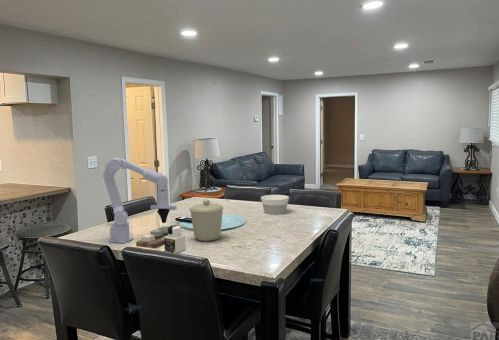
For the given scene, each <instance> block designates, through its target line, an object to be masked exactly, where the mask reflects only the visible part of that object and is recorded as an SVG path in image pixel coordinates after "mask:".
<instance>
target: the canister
mask: <svg viewBox="0 0 499 340" xmlns="http://www.w3.org/2000/svg"><path fill="white" fill-rule="evenodd" d="M224 209H225V207H224V206H222V205H221V204H219V203H212V202H210V200H209V199H207V198H206V199H203V201H202V203H198V204H194V205H192V206H190V208H189V209H188V210H189V212H190V217H191V223H192V230H193V235H194V238H195V239H196V240H197V241H201V242H212V241H217V240H218V239H219V238H220V236H221V234H222V226H223V225H222V224H223V223H222V222H223V210H224Z"/></svg>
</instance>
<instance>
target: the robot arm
mask: <svg viewBox="0 0 499 340" xmlns="http://www.w3.org/2000/svg"><path fill="white" fill-rule="evenodd" d="M120 169H121V170H125V169H127V170H128V169H129V171H133V172H135V173H138V174H140V175H141V176H142V178H143V179H145V180H147V181H148V182H151V183H153V184H156V185H157V189H156V194H157V195H156V196H157V197H156V198H157V204H152V205H150V210H157V213H158V216H159V217H160V220H161V223H162V224H166V223H167V220H168V216H169V213H170V211H176V210H177V205H173V204H172V205H171V204H170V203H169V200H170V198H169V189H168V187H169V186H168V184H169V179H168V178H167V176H166V175H165V174H162V173H161V172H157V171H155V170H154V169H153V168H152V167H151V168H143V167H141V166H139V165H138V164H135V163H133V162H131V161H130V160H127V159H124V158H121V157H118V156H114V157H112V158H110V159H109V160H108V162H107V163H106V165H105V168H104V170H103V171H104V172H103V174H102V177H103V180H104V183H105V187H106V190H107V192H108V196H109V198H110V203H111V205H112V209H113V214H114V218H113V222H114V223H112V224H111V225H110V227H109V238H110V239H109V241H108V242H110V243H119V244H125V243H128V242H131V241H132V240H134V238H133V237H130V224H129V221H128V217H129V214H128V212H127V211H126V210H125V207H124V205H123V203H122V200H121V196H120V193H119V189H118V186H117V183H116V180H115V177H114V176H115V175H116V173H117V172H118V171H119V170H120Z"/></svg>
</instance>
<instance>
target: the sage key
mask: <svg viewBox="0 0 499 340" xmlns="http://www.w3.org/2000/svg"><path fill="white" fill-rule="evenodd" d="M168 227H169V226H166V225H165V226H164V225H162V226H161V227H158V228H157V230H163V233H168Z"/></svg>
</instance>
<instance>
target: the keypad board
mask: <svg viewBox="0 0 499 340" xmlns="http://www.w3.org/2000/svg"><path fill="white" fill-rule="evenodd" d="M180 235H182V233H181V234H180ZM166 236H169V235H168V233H163V235H161V236H158V237H155V240H153V241H151V242H143V241H142V239H140V240H137V241H136V243H135V244H136V247H143V248H149V247H151V248H152V249H158V248H160V247H162V246H165V245H164V237H166ZM157 247H158V248H157ZM151 248H150V249H151Z"/></svg>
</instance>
